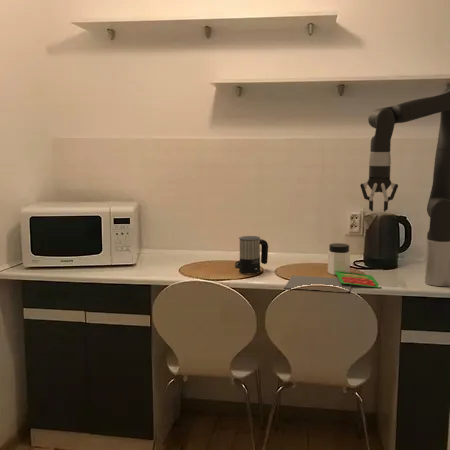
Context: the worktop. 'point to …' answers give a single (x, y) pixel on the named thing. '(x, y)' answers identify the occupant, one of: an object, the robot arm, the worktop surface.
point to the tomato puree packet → (357, 279)
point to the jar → (338, 258)
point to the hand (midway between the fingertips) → (378, 211)
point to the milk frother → (252, 254)
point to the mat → (314, 282)
